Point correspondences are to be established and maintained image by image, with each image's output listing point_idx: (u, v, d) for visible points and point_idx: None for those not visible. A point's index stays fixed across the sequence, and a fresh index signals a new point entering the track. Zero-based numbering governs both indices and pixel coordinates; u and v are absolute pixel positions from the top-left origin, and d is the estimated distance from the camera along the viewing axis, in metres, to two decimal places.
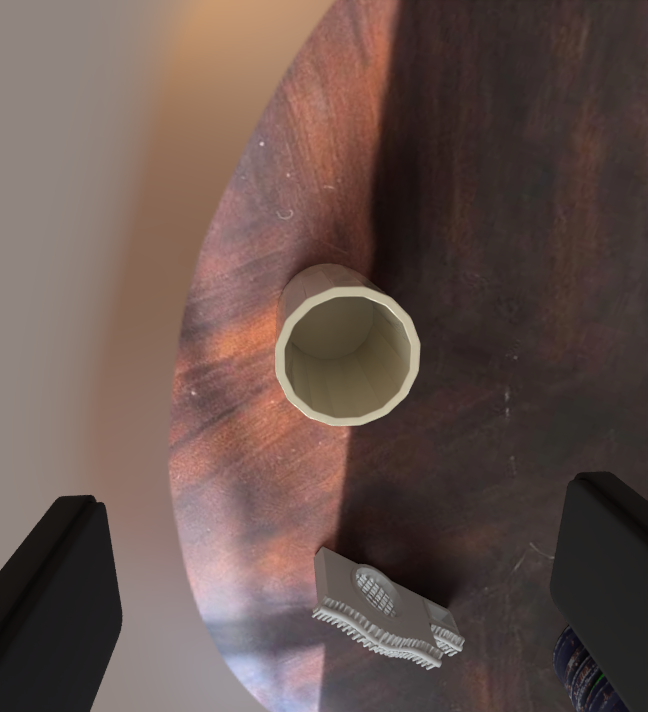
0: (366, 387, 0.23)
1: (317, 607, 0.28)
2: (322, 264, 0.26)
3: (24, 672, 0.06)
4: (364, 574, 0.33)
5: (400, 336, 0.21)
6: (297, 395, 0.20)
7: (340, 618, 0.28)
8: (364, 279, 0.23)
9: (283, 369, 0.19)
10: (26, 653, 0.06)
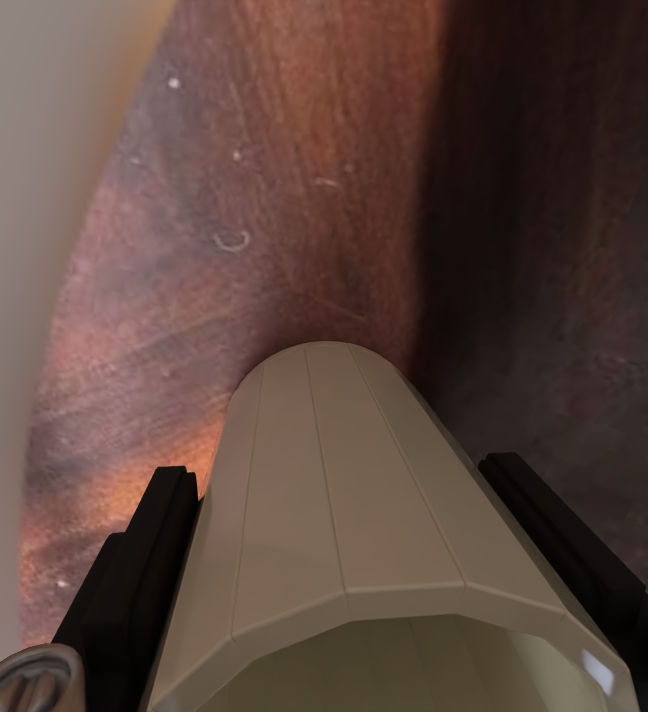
0: (422, 704, 0.09)
1: None
2: (312, 346, 0.12)
3: (163, 607, 0.07)
4: None
5: None
6: None
7: None
8: (418, 423, 0.09)
9: None
10: (163, 591, 0.07)
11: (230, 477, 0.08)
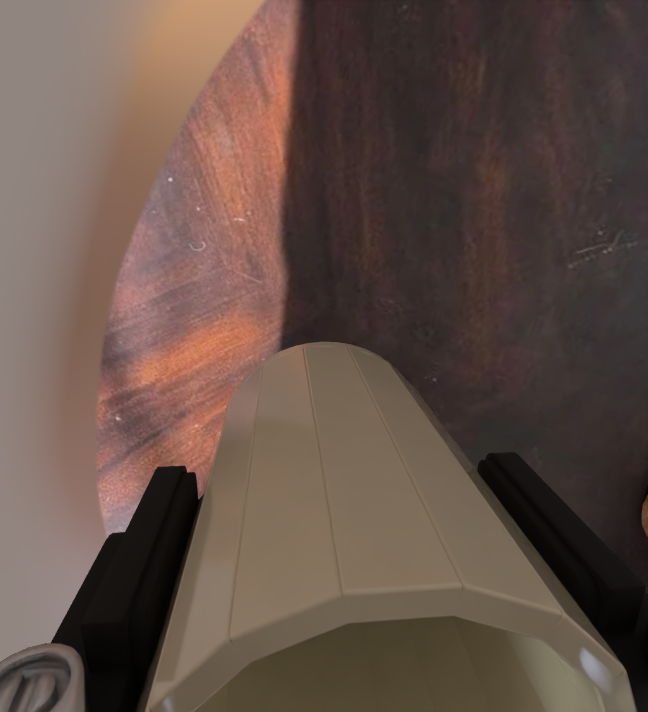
0: (420, 705, 0.09)
1: None
2: (311, 347, 0.12)
3: (163, 607, 0.07)
4: None
5: None
6: None
7: None
8: (416, 424, 0.09)
9: None
10: (163, 591, 0.07)
11: (229, 478, 0.08)
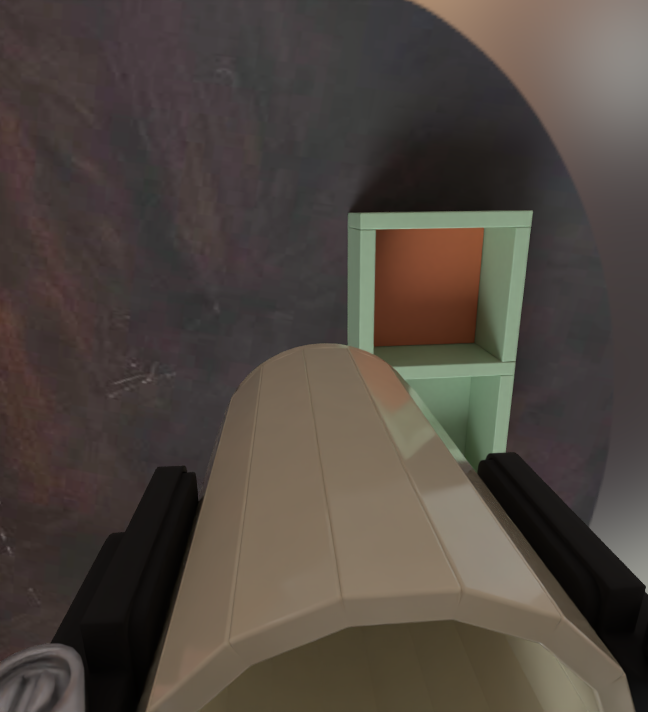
0: (420, 706, 0.09)
1: None
2: (311, 349, 0.12)
3: (162, 606, 0.07)
4: None
5: None
6: None
7: None
8: (416, 426, 0.09)
9: None
10: (163, 591, 0.07)
11: (228, 481, 0.08)
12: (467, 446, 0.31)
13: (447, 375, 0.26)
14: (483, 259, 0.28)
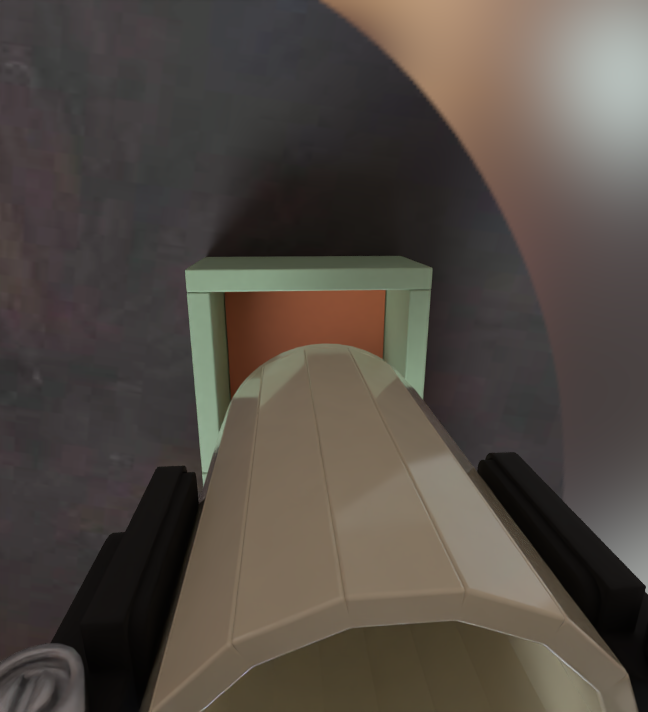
0: (421, 707, 0.09)
1: None
2: (312, 349, 0.12)
3: (163, 607, 0.07)
4: None
5: None
6: None
7: None
8: (418, 426, 0.09)
9: None
10: (163, 591, 0.07)
11: (230, 481, 0.08)
12: None
13: None
14: (386, 320, 0.21)
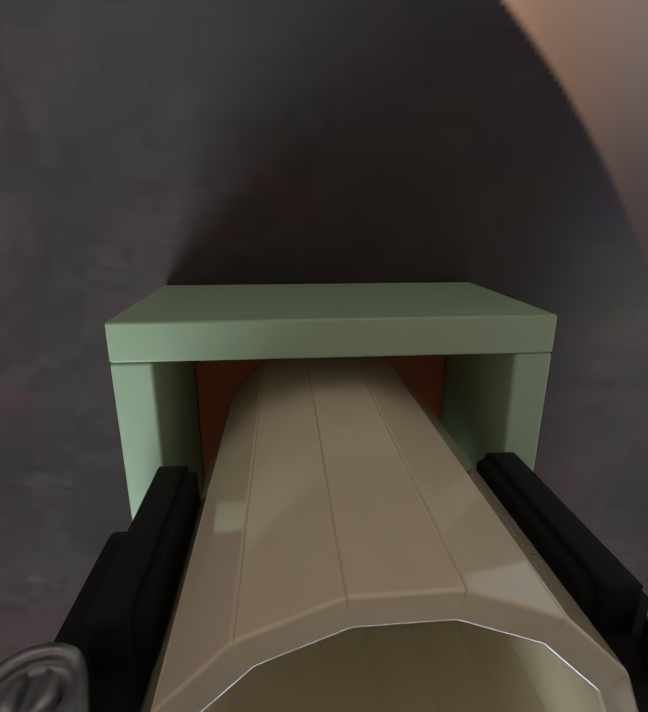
0: (421, 705, 0.09)
1: None
2: None
3: (165, 606, 0.07)
4: None
5: None
6: None
7: None
8: (418, 426, 0.09)
9: None
10: (165, 590, 0.07)
11: (231, 481, 0.08)
12: None
13: None
14: (447, 382, 0.14)
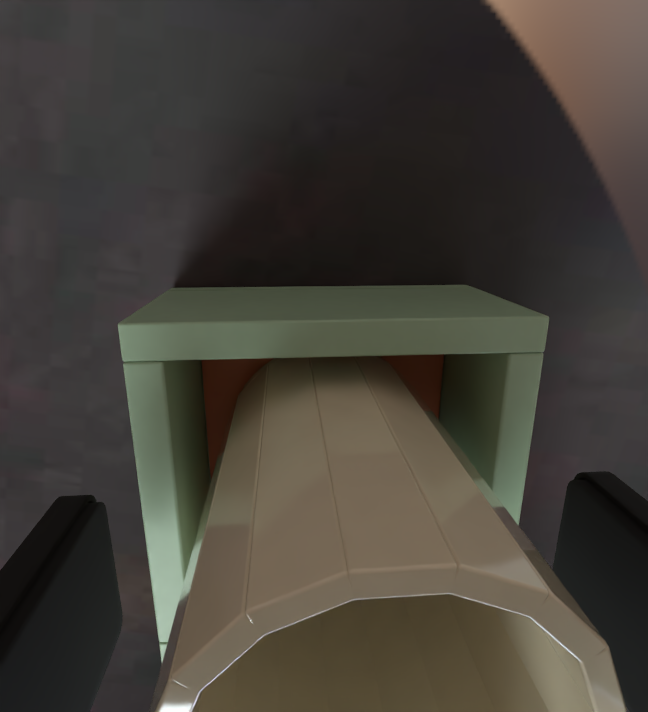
0: (420, 689, 0.09)
1: None
2: None
3: (24, 672, 0.06)
4: None
5: None
6: None
7: None
8: (416, 422, 0.09)
9: None
10: (26, 653, 0.06)
11: (239, 472, 0.08)
12: None
13: None
14: (445, 381, 0.14)
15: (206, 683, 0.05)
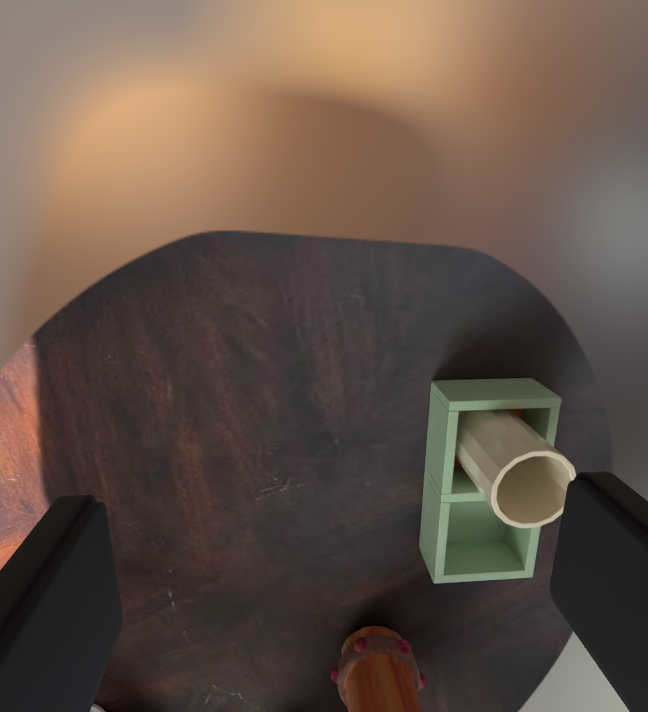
0: (528, 496, 0.35)
1: None
2: None
3: (24, 672, 0.06)
4: None
5: (557, 469, 0.34)
6: (501, 510, 0.32)
7: None
8: (527, 426, 0.35)
9: (495, 497, 0.32)
10: (26, 653, 0.06)
11: (487, 439, 0.34)
12: (507, 534, 0.43)
13: None
14: (523, 412, 0.40)
15: (507, 470, 0.31)
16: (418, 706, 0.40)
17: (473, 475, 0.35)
